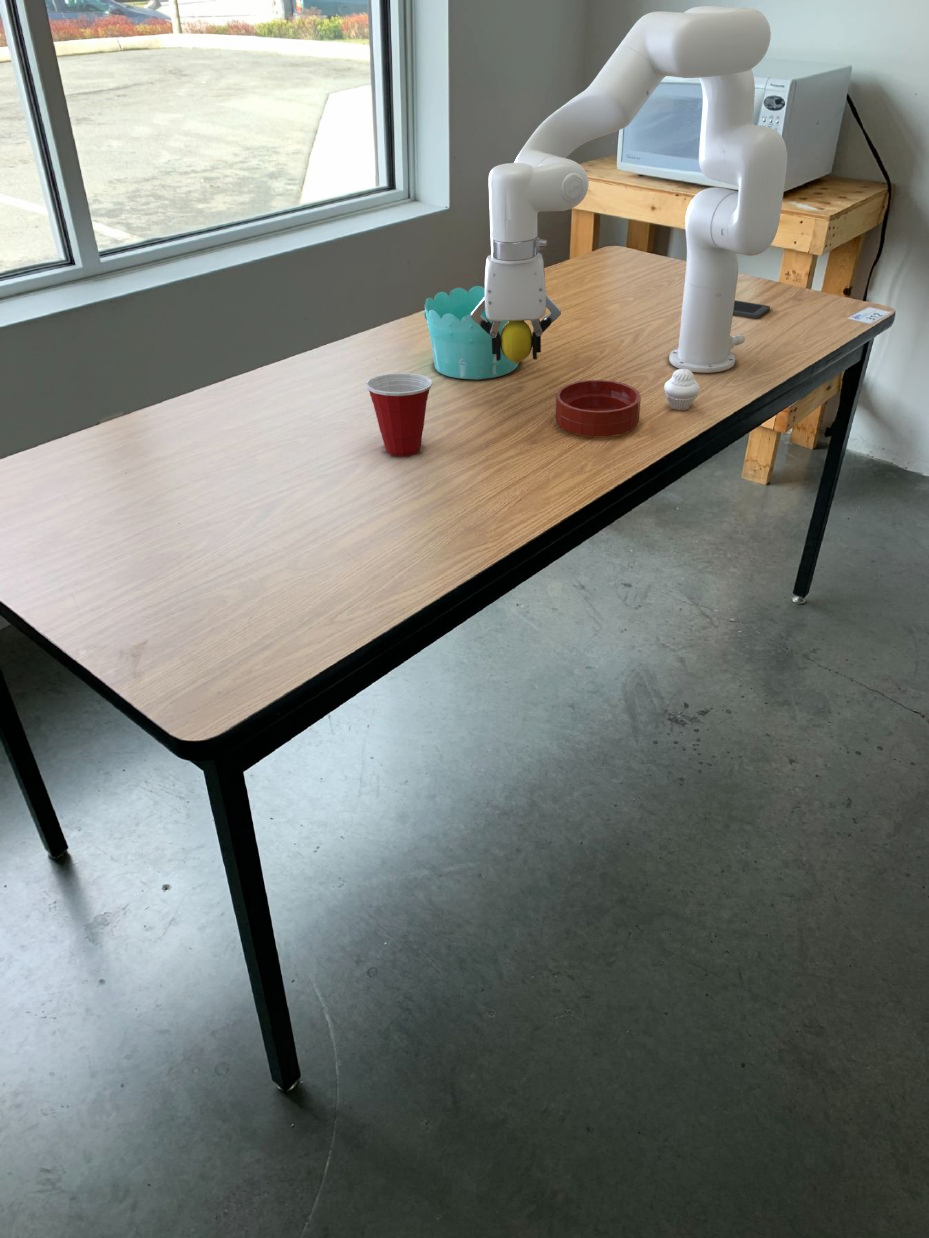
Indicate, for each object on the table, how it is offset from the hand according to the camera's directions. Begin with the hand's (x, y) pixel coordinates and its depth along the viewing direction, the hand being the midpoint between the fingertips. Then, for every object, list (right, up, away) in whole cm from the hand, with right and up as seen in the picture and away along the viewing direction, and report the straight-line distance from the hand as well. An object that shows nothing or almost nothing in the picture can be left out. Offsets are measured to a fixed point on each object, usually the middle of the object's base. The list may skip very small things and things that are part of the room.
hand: (516, 356), depth 166 cm
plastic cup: (-19, -17, -5) cm, 26 cm away
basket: (-7, +5, +26) cm, 28 cm away
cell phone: (+51, +24, +49) cm, 75 cm away
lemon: (0, -1, +1) cm, 1 cm away
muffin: (+29, -7, +6) cm, 31 cm away
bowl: (+14, -11, +2) cm, 18 cm away
